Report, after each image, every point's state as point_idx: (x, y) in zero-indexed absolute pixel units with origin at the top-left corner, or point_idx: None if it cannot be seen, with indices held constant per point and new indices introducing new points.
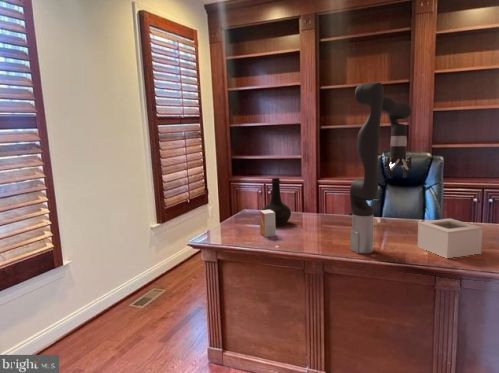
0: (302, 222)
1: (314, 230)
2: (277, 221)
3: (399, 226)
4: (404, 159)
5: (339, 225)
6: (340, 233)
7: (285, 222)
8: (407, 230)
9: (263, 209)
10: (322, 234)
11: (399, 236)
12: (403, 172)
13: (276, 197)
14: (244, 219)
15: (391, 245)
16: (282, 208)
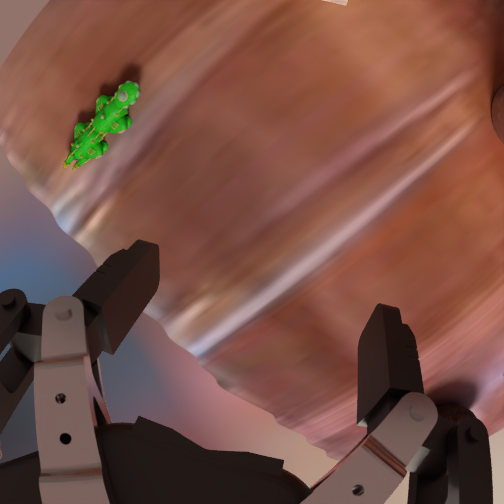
0: None
1: (439, 344)
2: (465, 408)
3: (181, 226)
4: (21, 497)
5: (343, 345)
6: (421, 285)
7: (440, 407)
8: (195, 173)
9: None
10: (462, 306)
11: (289, 131)
12: (127, 322)
13: None
14: None
15: (410, 76)
16: None
